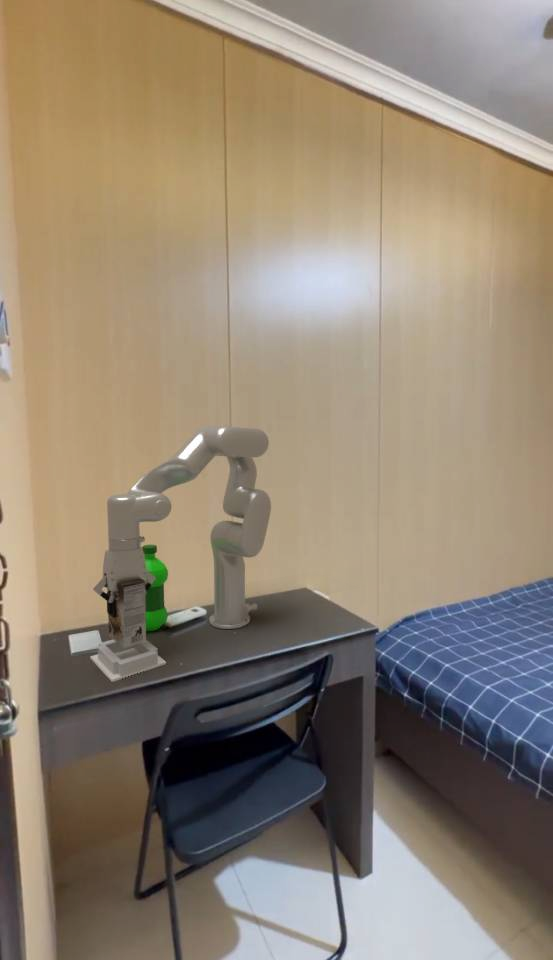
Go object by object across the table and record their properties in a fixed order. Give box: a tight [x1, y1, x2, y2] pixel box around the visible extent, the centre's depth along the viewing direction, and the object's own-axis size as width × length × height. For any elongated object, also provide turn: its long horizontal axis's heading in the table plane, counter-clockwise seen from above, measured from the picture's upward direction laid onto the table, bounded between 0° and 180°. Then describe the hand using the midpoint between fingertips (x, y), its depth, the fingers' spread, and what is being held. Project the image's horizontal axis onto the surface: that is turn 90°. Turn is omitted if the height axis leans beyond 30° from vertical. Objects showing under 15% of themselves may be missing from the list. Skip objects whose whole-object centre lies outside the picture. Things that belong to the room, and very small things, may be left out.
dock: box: [89, 639, 167, 683], centre depth 125 cm, size 14×15×4 cm
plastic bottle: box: [141, 544, 169, 632], centre depth 145 cm, size 10×10×25 cm
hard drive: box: [67, 629, 103, 658], centre depth 135 cm, size 2×8×12 cm
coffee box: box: [106, 579, 147, 648], centre depth 123 cm, size 9×6×16 cm
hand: (126, 611), depth 124 cm, fingers closed on coffee box, 6 cm apart
